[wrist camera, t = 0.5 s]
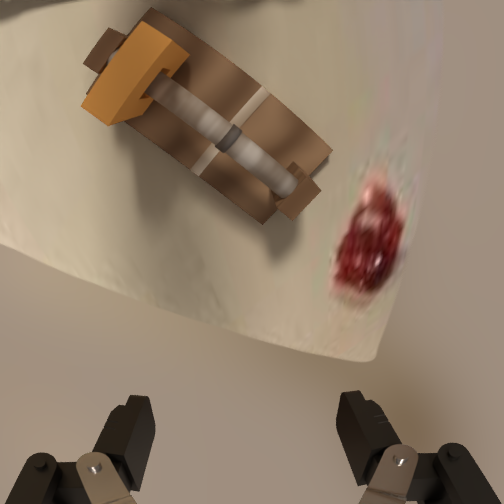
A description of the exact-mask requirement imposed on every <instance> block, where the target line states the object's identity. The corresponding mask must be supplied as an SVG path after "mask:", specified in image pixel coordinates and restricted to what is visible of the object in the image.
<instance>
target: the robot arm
mask: <svg viewBox="0 0 504 504" xmlns="http://www.w3.org/2000/svg"><path fill="white" fill-rule="evenodd" d="M336 428H337V432H338V435H339V437H340V440H341V442H342V445H343V448H344V451H345V453H346V456H347V458H348V461H349V464H350V466H351V469H352V471H353V474H354V477H355V479H356V482H357V485H358V486H361V485H365V484H367V486H368V488H367V489H366V491H365V492H364V494H363V496H362V498H361V500H360V502H359V504H405V503H406V501H417V503H418V504H501V502H500V500H499V499H498V497H497V495H496V494H495V492H494V491H493V489H492V487H491V486H490V484H489V482H488V481H487V479H486V478H485V476H484V475H483V473H482V471H481V470H480V468H479V467H478V465H477V464H476V462H475V460H474V459H473V457H472V456H471V455H470V453H469V451H468V450H467V449H466V448H465V447H464V446H463V445H461V444H458V443H447V444H445V445H443V446H442V447H441V448H440V449H439V451H438V453H417V452H416V451H415V450H414V449H413V448H412V447H410V446H408V445H403V444H402V443H401V441H400V439H399V438H398V436H397V434H396V433H395V431H394V429H393V428H392V426H391V424H390V422H388V419H387V417H386V416H385V414H384V412H383V410H382V409H381V407H380V406H379V405H378V404H376V403H375V402H374V401H372V400H365V399H364V397H363V395H362V393H361V392H360V391H359V390H357V391H350V392H343V393H342V394H341V396H340V402H339V408H338V413H337V417H336ZM154 436H155V421H154V417H153V412H152V408H151V404H150V400H149V397H148V396H138V395H130V396H129V398H128V401H127V403H126V405H125V406H124V405H118V406H117V407H116V408H115V409H114V410H113V411H111V413H110V415H109V417H108V419H107V422H106V423H105V426H104V429H103V430H102V432H101V434H100V436H99V438H98V440H97V442H96V444H95V447H94V449H93V451H92V452H90V453H86V454H84V455H82V456H81V457H80V458H79V459H78V460H77V462H56V460H55V458H54V457H53V456H52V455H50V454H48V453H36V454H33V455H32V456H30V457H29V458H28V459H27V461H26V463H25V465H24V467H23V469H22V471H21V472H20V474H19V476H18V478H17V480H16V482H15V484H14V486H13V488H12V490H11V492H10V494H9V496H8V499H7V500H6V503H5V504H137V503H136V501H135V500H134V498H133V497H132V495H130V490H133V491H140V487H141V484H142V480H143V476H144V472H145V469H146V465H147V461H148V458H149V454H150V450H151V447H152V443H153V440H154Z"/></svg>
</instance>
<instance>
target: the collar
mask: <svg viewBox="0 0 504 504" xmlns="http://www.w3.org/2000/svg"><path fill="white" fill-rule="evenodd" d="M189 55H190V54H189V53H188V52H186V51H185V50H184V49H183V48H181V47H180V46H179V45H178V44H177V43H175V42H174V41H173V40H171V39H170V38H168V37H167V36H165V35H164V34H162V33H161V32H159V31H158V30H156V29H155V28H153V27H151V26H150V25H148V24H147V23H145V22H143V21H141V22H140V24H139V25H138V26H137V27H136V28H135V30H134V31H133V32H132V33H131V35H130V36H129V37H128V38H127V40H126V41H125V42H124V44H123V45H122V46H121V47H120V49H119V50H118V51H117V53H116V54H115V56H114V57H113V58H112V60H111V61H110V62H109V64H108V65H107V67H106V68H105V69H104V71H103V72H102V74H101V75H100V77H99V78H98V80H97V81H96V83H95V84H94V86H93V87H92V89H91V90H90V92H89V94H88V95H87V97H86V98H85V100H84V102H83V103H82V105H81V107H82V108H84V109H85V110H86V111H88V112H89V113H91V114H92V115H93V116H95V117H96V118H98V119H99V120H100V121H102V122H103V123H105V124H106V125H107V126H110V125H113V124H116V123H119V122H122V121H125V120H128V119H131V118H134V117H137V116H140V115H143V113H144V112H145V111H146V109H147V108H148V107H149V105H150V104H151V103H152V101H153V100H154V99H153V98H151V97H150V96H149V95H147V94H146V93H144V92H145V90H146V89H147V88H148V86H149V85H150V84H151V82H152V81H153V80H154V79H155V77H156V76H157V75H158V73H159V72H160V71H161V72H162V73H164V74H165V75H167V76H168V77H170V78H171V77H172V76H173V74H174V73H175V72H176V71H177V70H178V68H179V67H180V66H181V65H182V64H183V62H184V61H185V60H186V59H187V58H188V57H189Z"/></svg>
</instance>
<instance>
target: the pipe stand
mask: <svg viewBox="0 0 504 504" xmlns="http://www.w3.org/2000/svg"><path fill="white" fill-rule="evenodd" d="M141 21H143V22H145V23H147V24H148V25H150V26H151V27H153V28H155V29H156V30H158V31H159V32H161V33H162V34H164V35H165V36H167V37H168V38H170V39H171V40H173V41H174V42H175V43H177V44H178V45H179V46H180V47H181V48H183V49H184V50H185V51H186V52H188V53H189V54H190V55H189V57H188V58H187V59H186V60H185V61H184V62H183V64H182V65H181V66H180V67H179V68H178V70H177V71H176V72H175V73H174V74H173V76H172V77H171V78H170V77H168V76H167V75H165V74H164V73H162V72H161V71H160V72H159V73H158V75H157V76H156V77H155V79H154V80H153V81H152V82H151V84H150V85H149V86H148V88H147V89H146V90H145V92H144V93H146V94H147V95H149V96H150V97H151V98H153V99H154V100H153V101H152V103H151V104H150V105H149V107H148V108H147V109H146V111H145V112H144V113H143V115H140V116H137V117H134V118H131V119H128V120H125V122H126V123H127V124H129V125H130V126H132V127H133V128H134V129H136V130H137V131H138V132H140V133H141V134H143V135H144V136H145V137H147V138H148V139H149V140H151V141H152V142H153V143H155V144H156V145H158V146H159V147H160V148H162V149H163V150H164V151H166V152H167V153H168V154H170V155H171V156H172V157H174V158H175V159H177V160H178V161H179V162H181V163H182V164H183V165H185V166H186V167H187V168H189V169H190V170H191V171H192V172H194V173H195V174H196V175H198V176H199V177H201V178H202V179H203V180H205V181H206V182H207V183H209V184H210V185H211V186H212V187H214V188H215V189H216V190H218V191H219V192H220V193H222V194H223V195H224V196H226V197H227V198H228V199H230V200H231V201H232V202H233V203H235V204H236V205H237V206H239V207H240V208H241V209H243V210H244V211H245V212H246V213H248V214H249V215H250V216H252V217H253V218H254V219H256V220H257V221H258V222H259V223H261V224H262V225H263V224H264V223H265V222H266V221H267V220H268V219H269V217H270V216H271V215H272V214H273V213H274V212H275V211H276V210H277V209H279V210H280V211H281V212H282V213H284V214H285V215H286V216H287V217H288V218H290V219H291V220H292V221H293V220H294V219H295V218H296V217H297V216H298V215H299V213H300V212H301V211H302V210H303V209H304V208H305V207H306V206H307V205H308V204H309V203H310V202H311V201H312V200H313V199H314V198H315V197H316V196H317V195H318V194H319V193H320V192H321V190H320V188H319V187H318V186H317V185H316V184H315V182H314V181H313V180H312V179H311V178H310V176H309V175H310V174H311V173H312V172H313V171H314V170H315V169H316V168H317V167H318V166H319V165H320V164H321V162H322V161H323V160H324V159H325V158H326V157H327V156H328V155H329V154H330V153H331V152H332V151H333V150H332V149H331V148H330V147H329V146H328V145H327V144H326V143H325V142H324V141H323V140H322V139H321V138H320V137H319V136H318V135H317V134H316V133H315V132H314V131H313V130H312V129H310V128H309V127H308V126H307V125H306V124H305V123H304V122H303V121H302V120H301V119H300V118H298V117H297V116H296V115H295V114H294V113H293V112H292V111H291V110H289V109H288V108H287V107H286V106H285V105H284V104H283V103H281V102H280V101H279V100H278V99H277V98H276V97H274V96H273V95H272V94H271V93H270V92H269V91H267V90H266V89H265V88H264V87H263V86H261V85H260V84H259V83H258V82H256V81H255V80H254V79H253V78H251V77H250V76H249V75H248V74H246V73H245V72H244V71H243V70H241V69H240V68H239V67H237V66H236V65H235V64H234V63H232V62H231V61H230V60H228V59H227V58H226V57H224V56H223V55H222V54H220V53H219V52H218V51H216V50H215V49H213V48H212V47H211V46H209V45H208V44H206V43H205V42H204V41H202V40H201V39H199V38H198V37H196V36H195V35H194V34H192V33H191V32H189V31H188V30H186V29H185V28H183V27H182V26H180V25H179V24H177V23H176V22H174V21H172V20H171V19H169V18H168V17H166V16H165V15H163V14H161V13H160V12H158V11H157V10H155V9H153V8H152V7H151V8H150V9H149V10H148V11H147V12H146V13H145V15H144V16H143V17H142V18H141V19H140V20H139V22H138V23H137V24H136V25H135V26H134V28H133V29H132V30H131V31H130V33H129V34H128V35H125V34H122V33H120V32H118V31H116V30H113V29H111V28H108V29H107V30H106V32H105V33H104V34H103V36H102V37H101V38H100V40H99V41H98V42H97V44H96V45H95V46H94V48H93V49H92V51H91V52H90V54H89V55H88V57H87V58H86V59H85V61H84V62H83V64H84V65H86V66H87V67H89V68H90V69H92V70H93V71H95V72H96V73H98V74H99V75H98V76H97V78H96V79H95V81H94V82H93V84H92V85H91V87H90V88H89V90H88V91H87V93H86V94H87V95H88V94H89V92H90V90H91V89H92V87H93V86H94V84H95V83H96V81H97V80H98V78H99V77H100V75H101V74H102V72H103V71H104V69H105V68H106V67H107V65H108V64H109V62H110V61H111V60H112V58H113V57H114V56H115V54H116V53H117V51H118V50H119V49H120V47H121V46H122V45H123V44H124V42H125V41H126V40H127V38H128V37H129V36H130V35H131V33H132V32H133V31H134V30H135V28H136V27H137V26H138V25H139V24H140V22H141Z"/></svg>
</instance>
